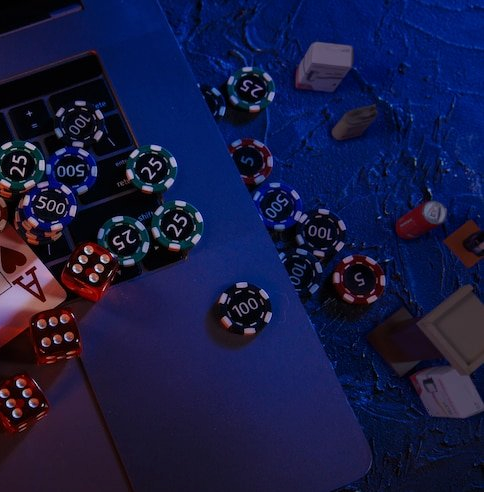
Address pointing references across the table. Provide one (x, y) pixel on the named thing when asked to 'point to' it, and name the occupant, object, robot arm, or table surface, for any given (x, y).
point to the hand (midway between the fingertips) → (473, 242)
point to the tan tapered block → (354, 122)
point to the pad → (458, 238)
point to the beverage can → (421, 220)
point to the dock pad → (458, 330)
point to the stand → (402, 342)
